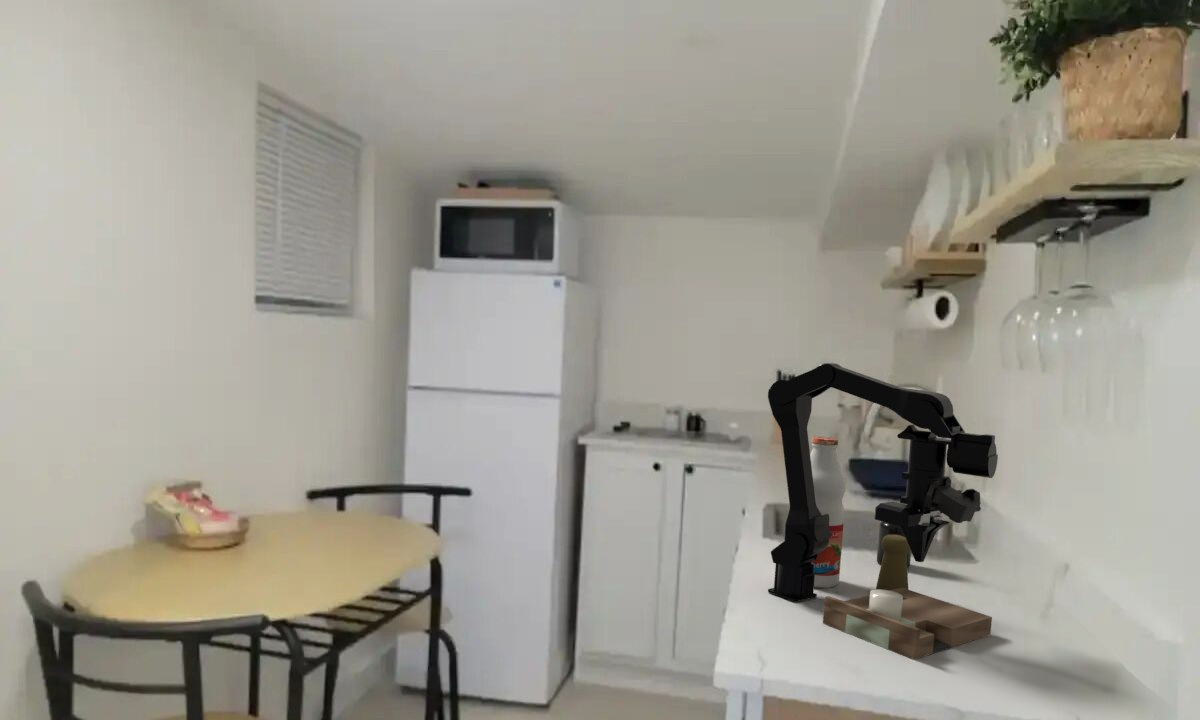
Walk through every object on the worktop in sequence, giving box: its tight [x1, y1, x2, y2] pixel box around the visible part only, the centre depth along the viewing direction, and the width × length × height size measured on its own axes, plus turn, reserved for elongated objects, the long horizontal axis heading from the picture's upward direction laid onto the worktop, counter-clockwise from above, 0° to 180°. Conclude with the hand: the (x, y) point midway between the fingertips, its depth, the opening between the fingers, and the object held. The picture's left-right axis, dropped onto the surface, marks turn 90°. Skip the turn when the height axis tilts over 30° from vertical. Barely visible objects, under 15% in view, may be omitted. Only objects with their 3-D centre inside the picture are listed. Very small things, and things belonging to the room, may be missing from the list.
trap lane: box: [822, 588, 993, 660], centre depth 143 cm, size 17×22×4 cm
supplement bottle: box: [876, 521, 912, 569], centre depth 183 cm, size 7×7×12 cm
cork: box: [875, 535, 910, 590], centre depth 162 cm, size 6×6×11 cm
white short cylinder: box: [869, 589, 903, 622], centre depth 138 cm, size 5×5×4 cm
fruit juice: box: [810, 435, 847, 589], centre depth 167 cm, size 9×9×28 cm
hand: (919, 561), depth 143 cm, fingers closed
